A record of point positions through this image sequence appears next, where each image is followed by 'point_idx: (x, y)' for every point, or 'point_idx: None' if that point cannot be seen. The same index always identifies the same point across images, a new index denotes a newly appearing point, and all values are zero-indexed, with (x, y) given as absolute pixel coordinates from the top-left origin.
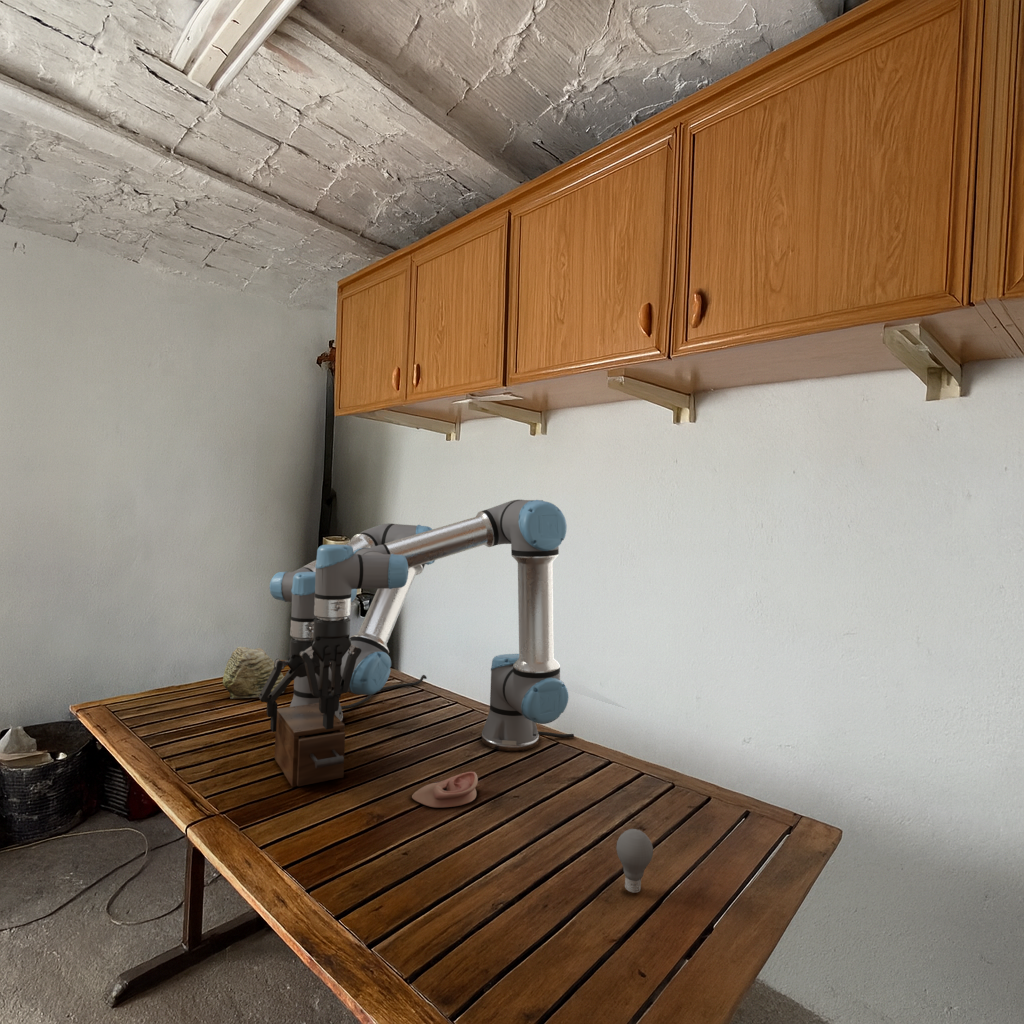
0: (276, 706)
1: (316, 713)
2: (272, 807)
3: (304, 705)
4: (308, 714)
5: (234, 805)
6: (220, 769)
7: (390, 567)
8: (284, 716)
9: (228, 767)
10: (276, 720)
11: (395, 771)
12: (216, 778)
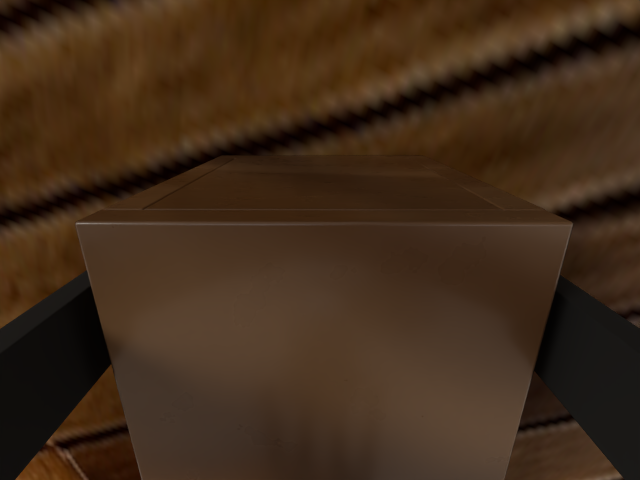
0: (9, 474)
1: (389, 456)
2: None
3: (364, 243)
4: (327, 453)
5: (87, 425)
6: (8, 168)
7: None
8: (143, 431)
9: (37, 162)
10: (105, 368)
11: (554, 424)
12: (7, 243)
